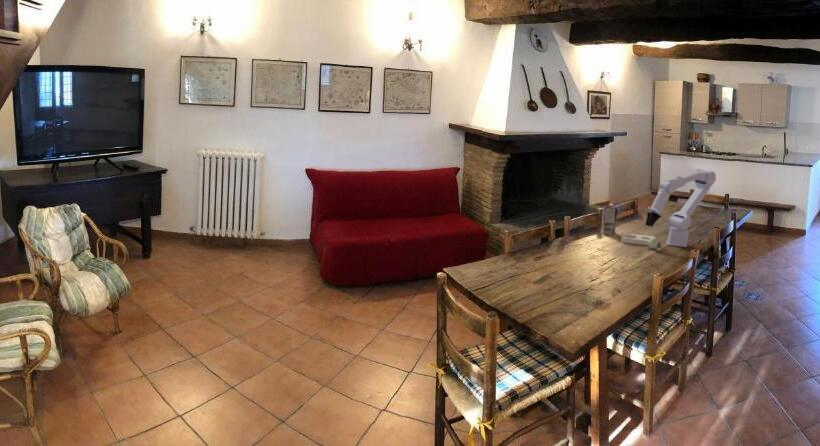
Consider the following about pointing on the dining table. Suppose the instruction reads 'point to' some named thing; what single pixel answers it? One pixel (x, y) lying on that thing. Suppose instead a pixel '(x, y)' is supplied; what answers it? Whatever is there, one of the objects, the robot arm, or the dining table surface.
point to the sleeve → (653, 243)
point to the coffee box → (608, 220)
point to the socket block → (635, 239)
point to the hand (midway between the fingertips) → (648, 225)
